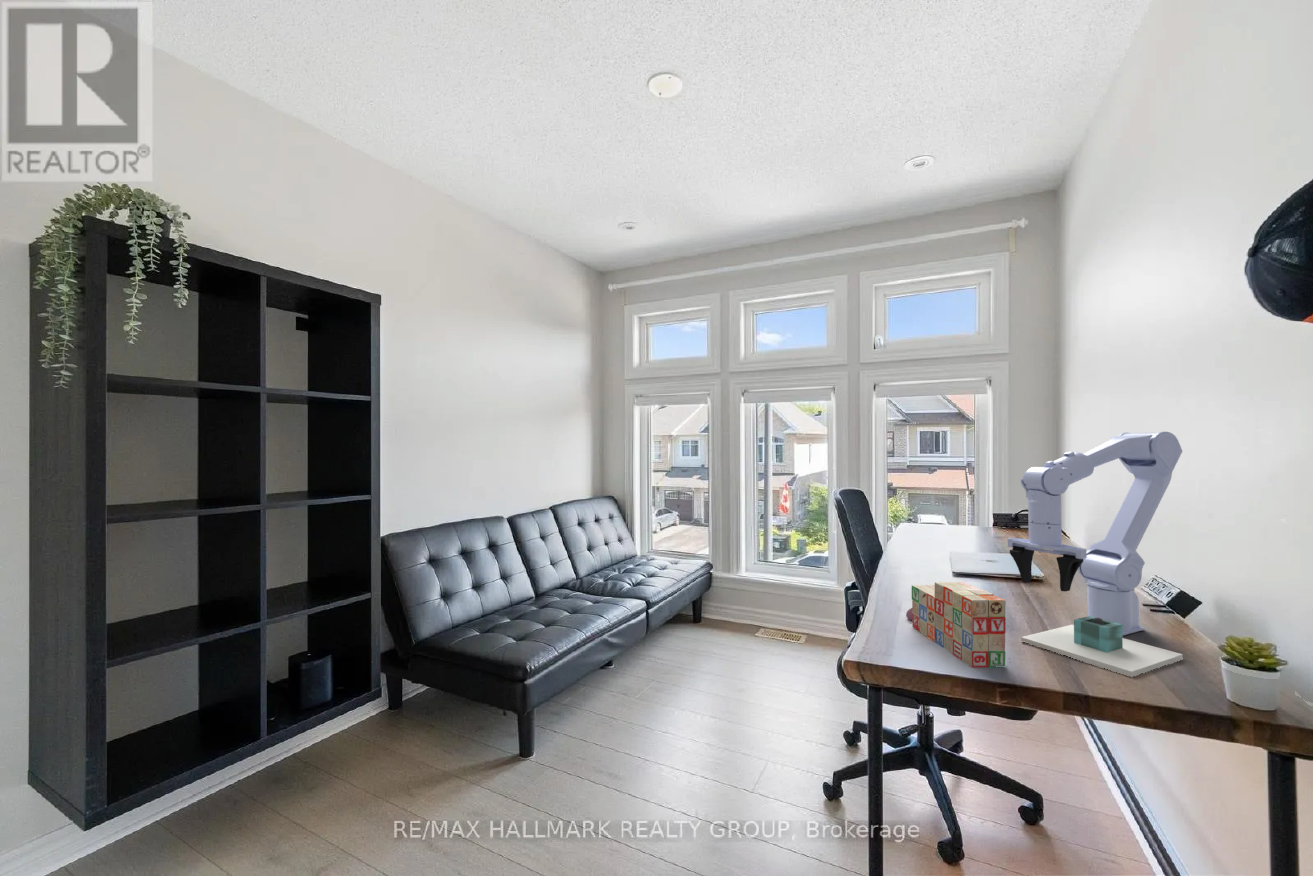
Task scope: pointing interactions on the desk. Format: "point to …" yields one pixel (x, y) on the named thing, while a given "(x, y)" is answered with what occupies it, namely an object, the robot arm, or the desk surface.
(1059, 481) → the robot arm
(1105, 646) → the teal hollow square tube
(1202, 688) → the desk surface
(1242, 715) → the desk surface
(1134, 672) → the white square slab
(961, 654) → the stack of blocks
